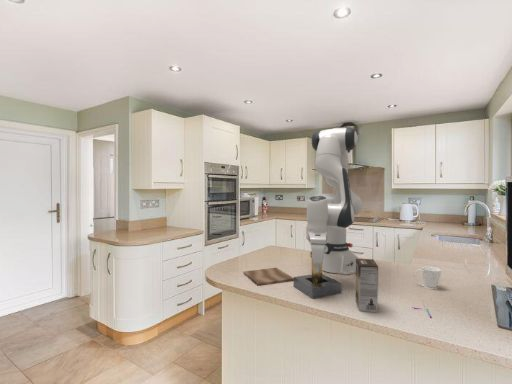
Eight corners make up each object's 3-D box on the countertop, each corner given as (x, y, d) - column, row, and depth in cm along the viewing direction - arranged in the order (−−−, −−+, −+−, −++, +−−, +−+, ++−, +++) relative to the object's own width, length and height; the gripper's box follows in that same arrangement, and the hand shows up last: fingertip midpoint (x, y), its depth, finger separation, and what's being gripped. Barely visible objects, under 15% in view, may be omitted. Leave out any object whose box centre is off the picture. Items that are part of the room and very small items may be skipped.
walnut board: (276, 269, 143) (276, 267, 143) (294, 280, 127) (294, 278, 126) (243, 273, 136) (243, 271, 136) (257, 285, 120) (257, 283, 120)
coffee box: (354, 300, 105) (355, 258, 105) (372, 301, 104) (373, 259, 103) (358, 311, 96) (359, 264, 96) (378, 312, 95) (379, 266, 94)
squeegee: (407, 297, 107) (422, 299, 106) (407, 299, 107) (422, 301, 106) (414, 314, 93) (432, 317, 91) (414, 317, 93) (432, 319, 91)
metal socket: (320, 282, 125) (320, 273, 125) (341, 293, 112) (341, 283, 112) (293, 286, 119) (293, 276, 119) (312, 298, 107) (312, 288, 106)
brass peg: (309, 280, 119) (310, 250, 119) (323, 281, 118) (323, 250, 118) (310, 285, 114) (310, 253, 113) (324, 286, 113) (324, 254, 112)
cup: (442, 291, 114) (442, 272, 114) (414, 287, 119) (414, 268, 119) (439, 286, 121) (439, 267, 121) (413, 282, 125) (413, 264, 125)
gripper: (309, 231, 126) (309, 261, 126) (309, 239, 106) (309, 275, 106) (323, 231, 125) (323, 262, 125) (326, 240, 105) (326, 277, 105)
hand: (316, 268), depth 116 cm, fingers closed on brass peg, 5 cm apart
